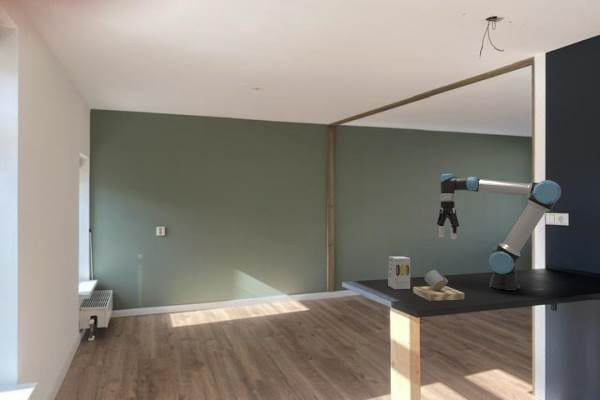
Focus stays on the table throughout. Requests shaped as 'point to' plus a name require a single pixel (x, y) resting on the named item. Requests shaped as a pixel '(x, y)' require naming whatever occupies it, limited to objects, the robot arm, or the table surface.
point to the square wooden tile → (438, 293)
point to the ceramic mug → (435, 280)
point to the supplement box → (399, 272)
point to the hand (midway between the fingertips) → (447, 238)
